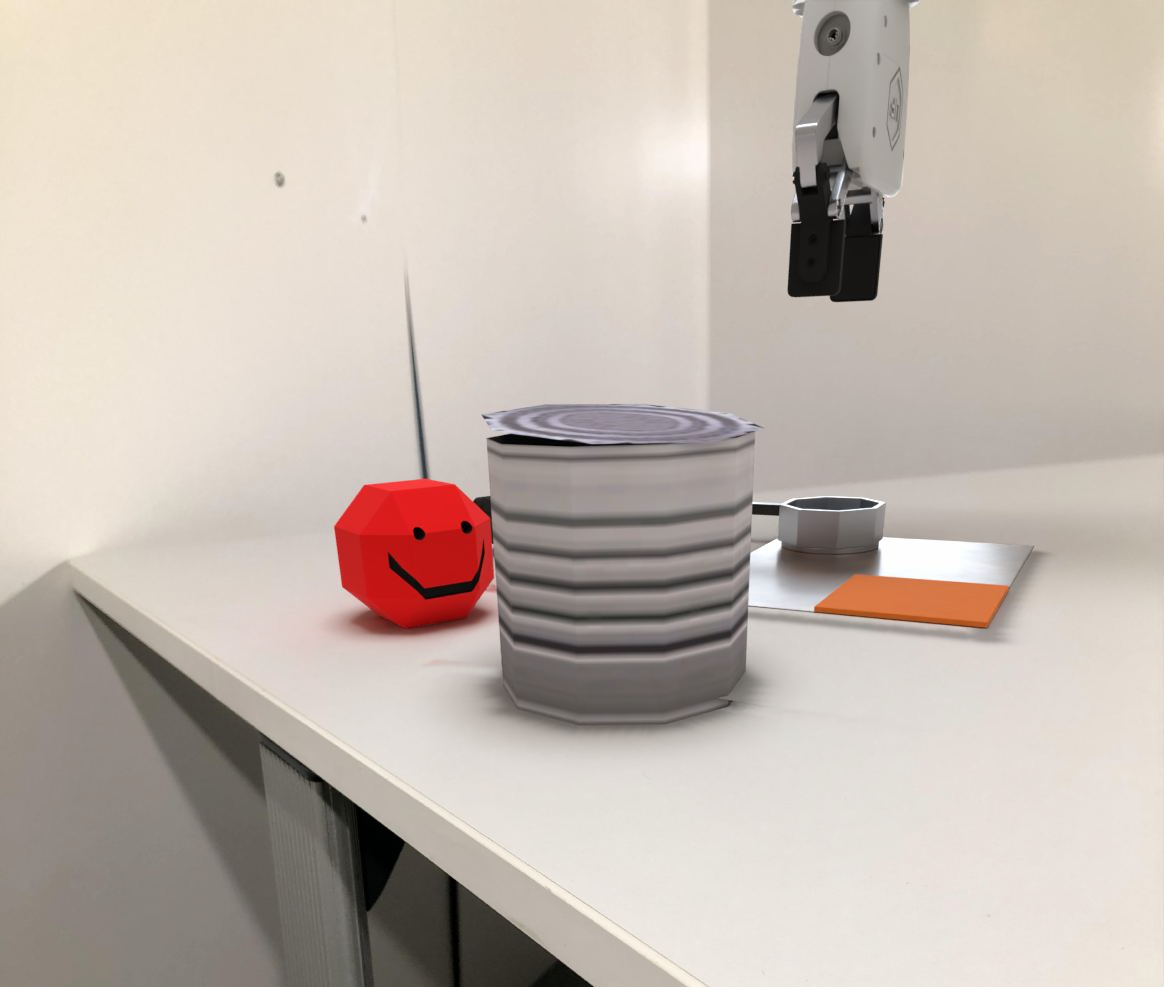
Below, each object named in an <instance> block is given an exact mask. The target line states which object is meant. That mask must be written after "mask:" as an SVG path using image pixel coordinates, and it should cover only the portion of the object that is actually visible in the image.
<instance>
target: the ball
mask: <svg viewBox="0 0 1164 987" xmlns="http://www.w3.org/2000/svg"><path fill="white" fill-rule="evenodd" d="M473 501H474V500H472V499H471V498H470V497H469V496H468V495H467V494H466V493H464V491H462V489H461V488H460V487H459V486H457V485H456V483H451V482H444V481H440V480H434V479H429V478H418V479H417V478H416V479H409V480H407V479H406V480H399V481H389V482H378V483H370V484H363V486H362V487H361V488H360V490H359V491H358V493H357V494H356V495H355V497H353V499H352V501H351V502H350V503H349V505H348V506H347V507H346V509H345V510H344V512H343V513H342V514H341V515H340V517H339V518H338V520H337V521H336V523H335V524H334V525H333V529H334V537H335V545H336V551H337V559H338V566H339V574H340V582H341V588H342V589H343V590H345V591H346V592H348V593H349V594H350V595H351V596H353V597H354V598H355V599H356V600H358V601H360V602H361V603H362V604H363V605H364V606H366V607H367V608H369V610H371V611H372V612H373V613H375V615H377V616H379V617H381V618H382V619H385V620H387V621H388V622H391V623H393V624H395V625H397V626H399V627H401V628H403V629H405V630H407V629H412V628H413V629H414V628H417V627H424V626H428V625H429V626H430V625H434V624H439V623H440V624H441V623H444V622H450V621H456V620H462V619H466V618H467V617H468V615H469V614H470V613H471V612H472V610H473V608H474V607H475V606H476V605H477V603H478V601H479V600H480V599H481V597H482V596H483V594H485V592H486V591H487V589H488V588H489V586H490V585H491V583H492V582H493V580H494V579H495V570H494V569H495V567H494V555H493V554H494V552H493V544H492V538H491V523H490V517H488V516H487V515H486V514H485V513H484V512H483V511H482V510H481V509H480V508H479V507H478V506H477V505H476V504H475V503H474V502H473Z"/></svg>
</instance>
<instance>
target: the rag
mask: <svg viewBox="0 0 1164 987" xmlns="http://www.w3.org/2000/svg"><path fill="white" fill-rule="evenodd" d="M1008 590H1009V591H1010V589H1009V586H1008V585H995V584H981V583H968V582H954V581H941V580H927V579H914V578H900V577H887V576H873V575H860V574H855V575H854V576H852V577H851V578H850V579H849V580H847V581H846V582H845V583H843V584H842V585H841V586H840V587H838V588H837V589H836V590H835V591H833V592H832V593H831V594H830V595H828V596H827V597H826V598H825V599H823V600H822V601H821V602H820V603H818V604H817V605H816V606H815V607H814V612H823V613H834V614H844V615H855V616H866V617H876V618H887V619H898V620H909V621H919V622H930V623H941V624H951V625H962V626H973V627H983V628H988V627H989V626H990V624H991V622H992V620H993V619H994V617H995V615H996V614H995V612H996V611H997V612H998V610H999V608H1000V607H999V606H1001V605H1002V603H1003V601H1004V600H1003V599H1005V598H1006V596H1007V594H1008V593H1007V592H1009V591H1008ZM1006 593H1007V594H1006ZM1005 595H1006V596H1005ZM1004 597H1005V598H1004ZM1002 600H1003V601H1002ZM1001 602H1002V603H1001ZM1000 604H1001V605H1000ZM998 607H999V608H998ZM997 609H998V610H997ZM997 612H996V613H997ZM823 613H822V614H823ZM994 614H995V615H994ZM844 615H843V616H844ZM855 616H854V617H855ZM993 616H994V617H993ZM876 618H875V619H876ZM992 618H993V619H992ZM887 619H886V620H887ZM991 619H992V620H991ZM990 621H991V622H990ZM919 622H918V623H919ZM989 623H990V624H989ZM988 625H989V626H988ZM987 626H988V627H987Z"/></svg>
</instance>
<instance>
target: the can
mask: <svg viewBox="0 0 1164 987" xmlns="http://www.w3.org/2000/svg"><path fill="white" fill-rule="evenodd" d="M481 417H482V419H483V420H484V422H485V423H486V424H487V426H488V427H489V429H490V430H491V432H496V433H497V432H498V433H504V434H501V435H495V436H490V437H486V438H485V439H486V452H487V465H488V466H487V468H488V483H489V496H490V498H491V513H492V528H493V542H494V544H493V554H494V555H493V558H494V569H495V570H494V573H495V582H496V583H495V586H496V601H497V616H498V629H499V630H498V631H499V645H500V646H499V647H500V660H501V673H502V675H501V676H502V686H503V688H504V690H505V691H506V693H507V694H508V696H509V697H510V699H511V700H512V702H513V704H514V706H515V707H516V709H517V710H519V711H523V712H527V713H531V714H535V715H539V716H542V717H545V718H550V719H554V720H558V721H562V722H565V723H569V724H573V725H577V726H645V725H646V726H649V725H653V726H656V725H657V726H659V725H668V724H672V723H674V722H678V721H681V720H685V719H689V718H693V717H697V716H700V715H704V714H707V713H711V712H714V711H718V710H721V709H726V708H729V706H730V705H731V704H732V701H734V700H732V699H726V698H723V697H728V696H729V695H730V694H731V693H732V691H733V690H734V688H735V687H736V686H737V684H738V683H739V681H740V680H741V679H742V678H743V676H744V674H745V673H746V671H747V649H748V648H747V646H748V624H749V623H748V620H749V607H748V600H749V575H750V553H751V551H752V550H751V548H752V527H753V526H752V522H753V515H752V502H754V500H753V496H754V473H755V452H756V451H755V450H756V448H755V446H756V432H758V431H762V430H765V429H766V427H763V426H761V425H758V424H756V423H754V422H752V421H749V420H747V419H744V418H742V417H741V416H738V415H735V414H734V413H731V412H723V411H713V410H705V409H704V410H703V409H694V408H684V407H675V406H667V405H665V406H664V405H655V404H647V403H646V404H645V403H595V404H594V403H588V404H587V403H575V404H574V403H569V404H568V403H567V404H566V403H565V404H564V403H563V404H562V403H561V404H560V403H559V404H557V403H553V404H551V403H550V404H547V403H546V404H538V405H533V406H526V407H519V408H516V409H515V408H514V409H507V410H501V411H494V412H488V413H481Z"/></svg>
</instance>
